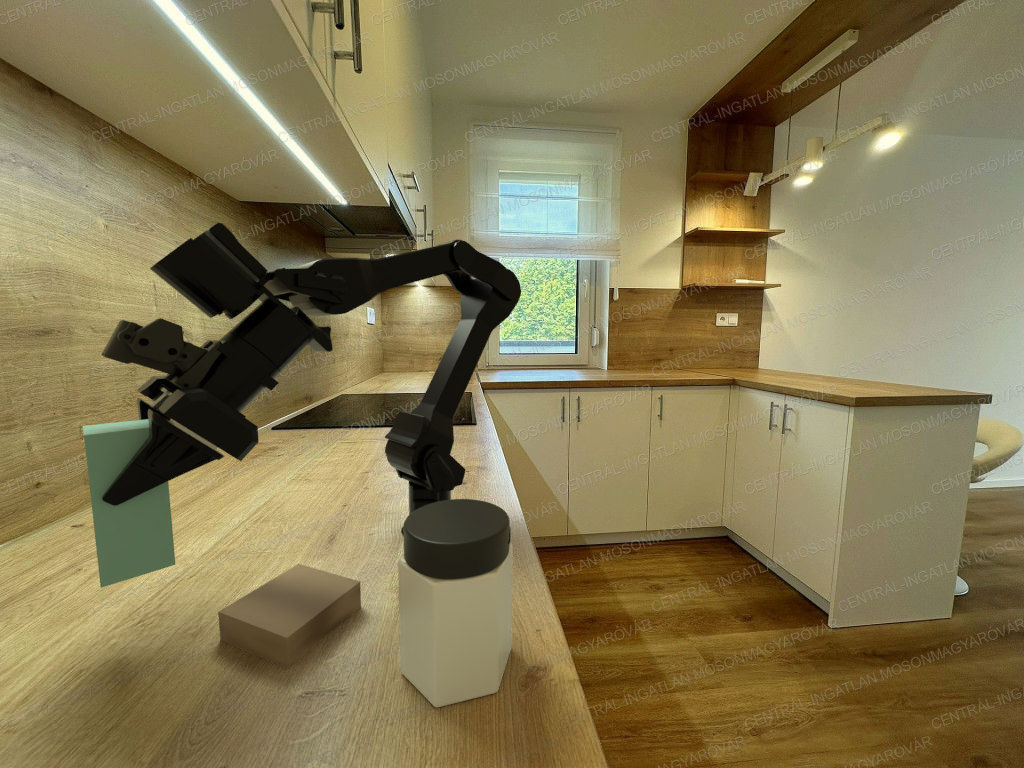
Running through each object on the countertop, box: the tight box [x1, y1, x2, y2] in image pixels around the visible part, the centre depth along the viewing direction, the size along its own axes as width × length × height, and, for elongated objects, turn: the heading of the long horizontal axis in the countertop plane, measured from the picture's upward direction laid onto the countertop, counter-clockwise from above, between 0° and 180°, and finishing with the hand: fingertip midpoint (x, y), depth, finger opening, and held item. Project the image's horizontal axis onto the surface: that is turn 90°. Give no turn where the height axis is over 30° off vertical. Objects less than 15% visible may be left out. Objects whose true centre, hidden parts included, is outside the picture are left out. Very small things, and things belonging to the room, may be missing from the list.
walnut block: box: [217, 563, 362, 670], centre depth 37 cm, size 8×8×3 cm
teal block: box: [82, 419, 176, 589], centre depth 34 cm, size 4×4×12 cm
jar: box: [397, 498, 514, 708], centre depth 32 cm, size 9×8×12 cm
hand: (106, 494), depth 33 cm, fingers closed on teal block, 4 cm apart
